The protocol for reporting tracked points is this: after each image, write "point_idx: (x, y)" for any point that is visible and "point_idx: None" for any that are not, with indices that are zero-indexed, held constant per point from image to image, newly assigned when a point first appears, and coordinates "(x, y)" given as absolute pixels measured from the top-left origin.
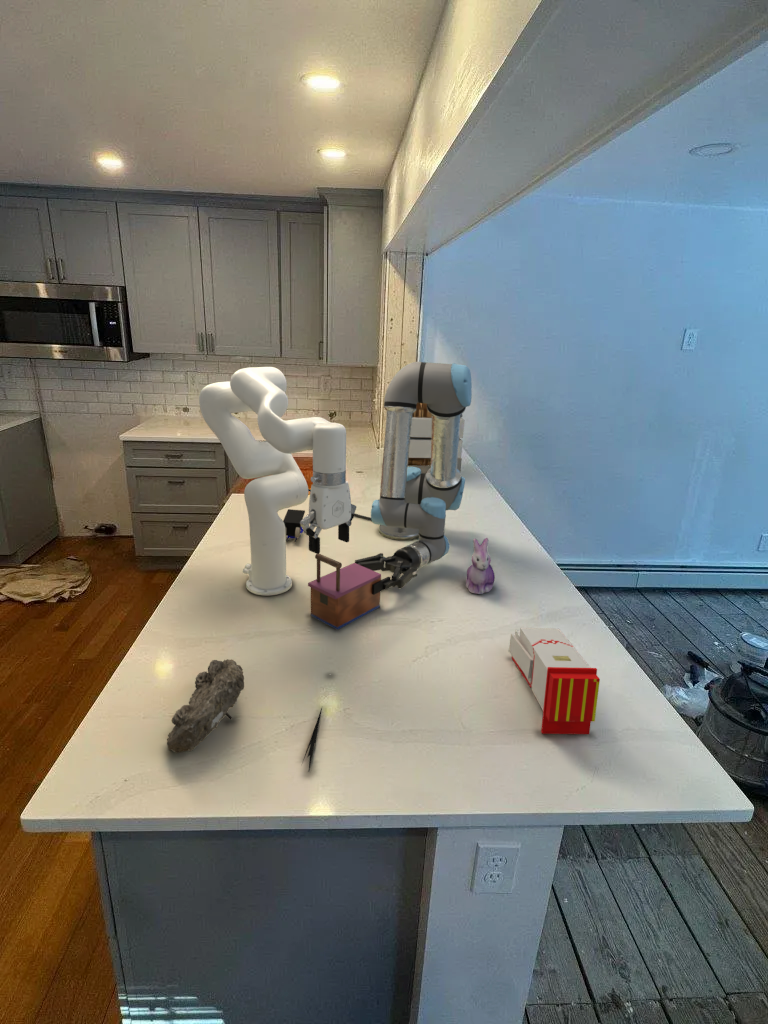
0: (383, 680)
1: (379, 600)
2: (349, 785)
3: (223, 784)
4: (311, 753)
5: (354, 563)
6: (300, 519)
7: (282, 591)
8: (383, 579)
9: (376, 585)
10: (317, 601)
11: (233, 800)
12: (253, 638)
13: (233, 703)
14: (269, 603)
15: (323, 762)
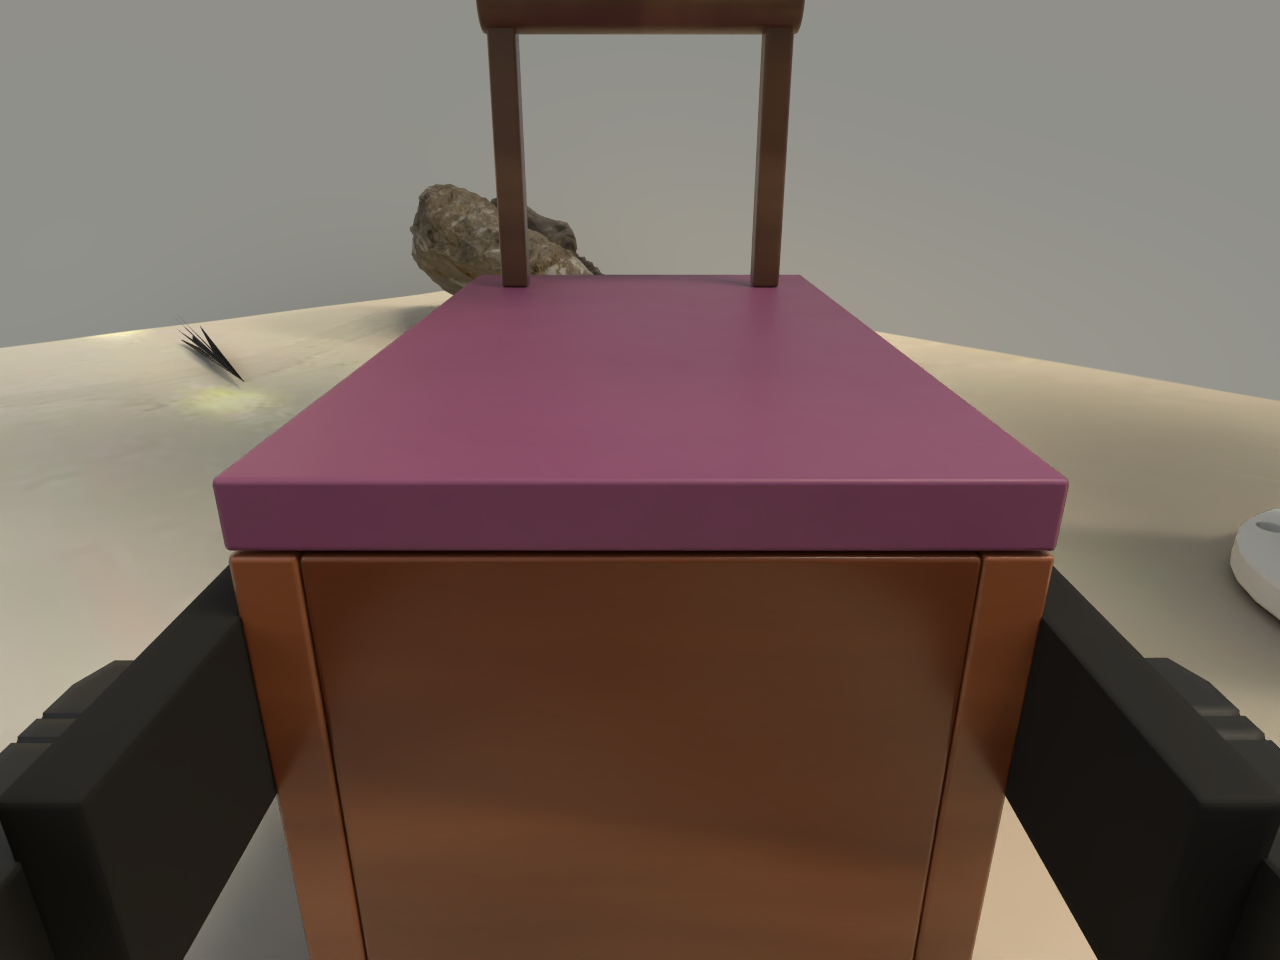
0: (13, 491)
1: (316, 953)
2: (63, 352)
3: (347, 315)
4: (197, 348)
5: (1025, 469)
6: None
7: (1264, 593)
8: (188, 654)
9: None
10: None
11: (306, 313)
12: None
13: (415, 247)
14: (1103, 532)
15: (156, 354)
